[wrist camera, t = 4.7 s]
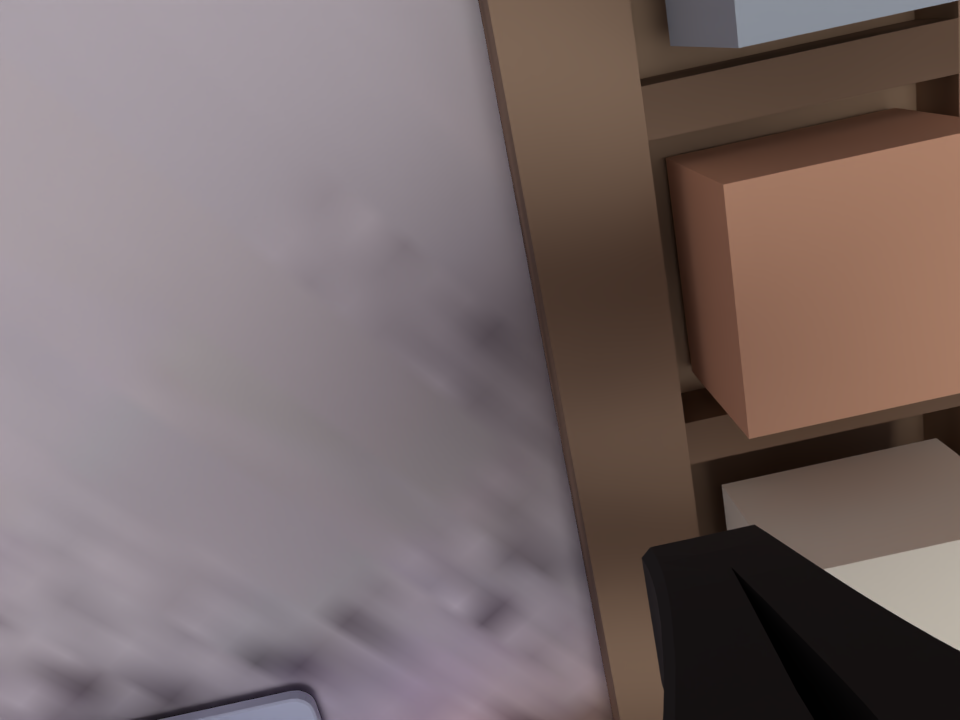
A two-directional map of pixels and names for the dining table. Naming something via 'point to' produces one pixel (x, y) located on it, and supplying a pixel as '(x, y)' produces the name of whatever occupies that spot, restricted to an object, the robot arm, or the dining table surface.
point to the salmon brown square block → (823, 268)
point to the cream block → (871, 526)
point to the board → (670, 263)
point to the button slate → (770, 18)
